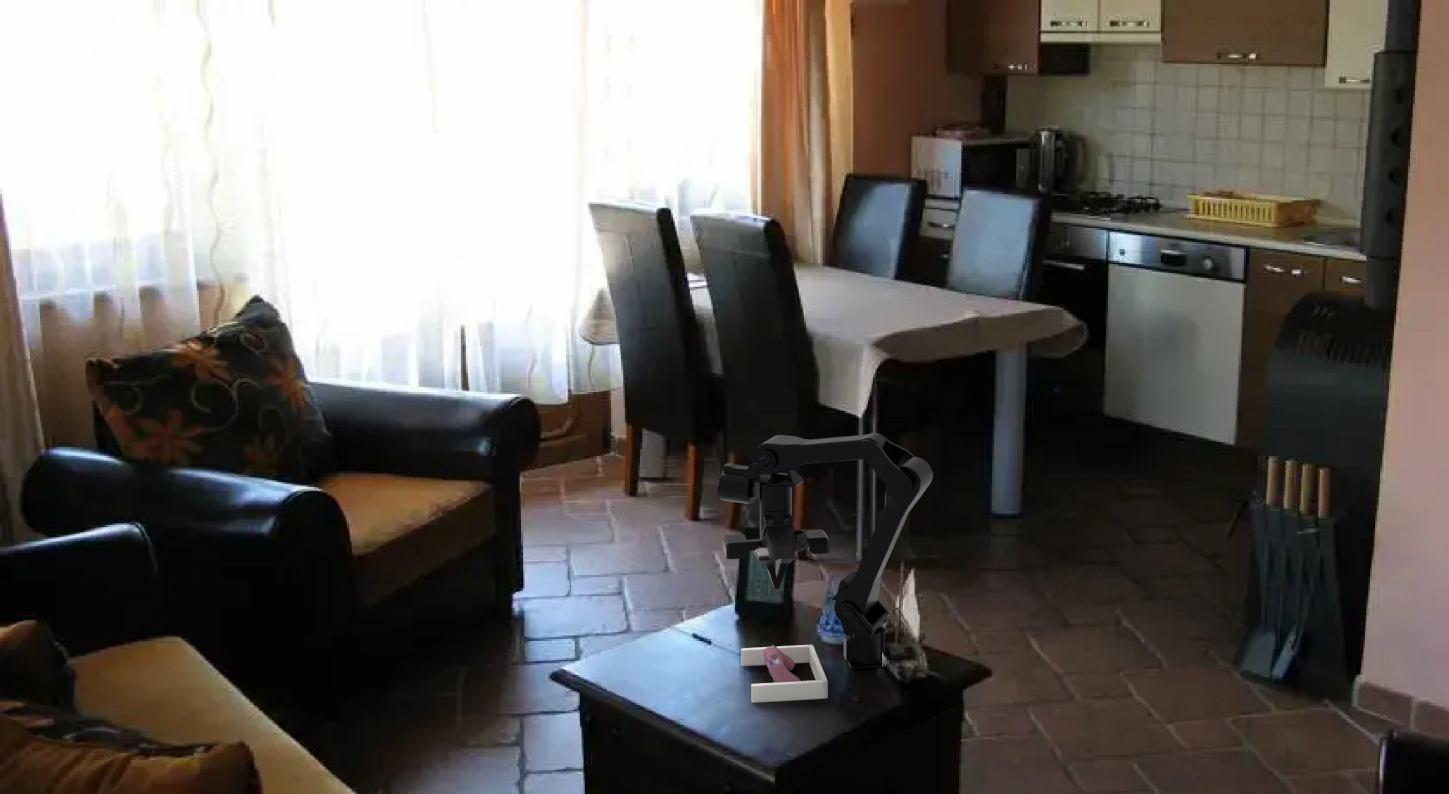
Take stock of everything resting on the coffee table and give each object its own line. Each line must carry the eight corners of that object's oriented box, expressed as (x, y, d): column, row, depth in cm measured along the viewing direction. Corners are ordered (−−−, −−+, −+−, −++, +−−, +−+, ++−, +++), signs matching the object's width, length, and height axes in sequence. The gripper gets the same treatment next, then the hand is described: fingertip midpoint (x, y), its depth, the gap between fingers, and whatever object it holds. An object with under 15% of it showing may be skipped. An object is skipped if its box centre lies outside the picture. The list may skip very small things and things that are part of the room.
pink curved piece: (773, 677, 265) (755, 645, 263) (796, 665, 264) (778, 633, 263) (781, 701, 255) (762, 668, 253) (804, 689, 255) (786, 656, 253)
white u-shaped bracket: (812, 660, 267) (812, 644, 267) (827, 698, 252) (827, 681, 252) (741, 664, 266) (741, 648, 265) (752, 702, 251) (751, 686, 250)
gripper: (730, 524, 259) (731, 609, 262) (836, 518, 261) (836, 602, 265) (721, 504, 269) (722, 586, 273) (823, 498, 272) (823, 579, 276)
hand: (776, 589), depth 271 cm, fingers closed
